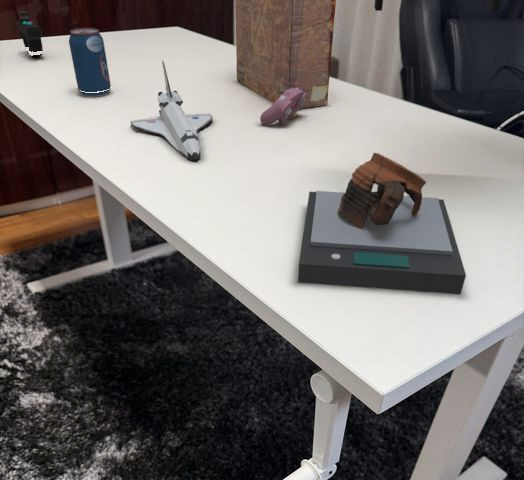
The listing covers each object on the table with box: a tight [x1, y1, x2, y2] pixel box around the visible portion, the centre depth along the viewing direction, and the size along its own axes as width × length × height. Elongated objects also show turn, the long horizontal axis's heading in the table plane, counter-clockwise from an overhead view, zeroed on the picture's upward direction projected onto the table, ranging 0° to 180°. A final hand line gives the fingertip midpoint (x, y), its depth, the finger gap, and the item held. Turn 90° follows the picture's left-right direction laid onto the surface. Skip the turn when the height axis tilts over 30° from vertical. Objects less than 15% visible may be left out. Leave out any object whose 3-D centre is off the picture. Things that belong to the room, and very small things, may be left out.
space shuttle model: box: [129, 59, 214, 161], centre depth 94 cm, size 16×25×10 cm, turn 18°
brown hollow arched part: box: [338, 152, 427, 228], centre depth 65 cm, size 12×10×8 cm
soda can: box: [68, 27, 112, 98], centre depth 114 cm, size 7×7×12 cm
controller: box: [16, 10, 44, 57], centre depth 140 cm, size 4×12×10 cm, turn 31°
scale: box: [297, 190, 467, 295], centre depth 67 cm, size 18×19×3 cm
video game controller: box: [259, 88, 307, 126], centre depth 103 cm, size 10×5×7 cm, turn 150°
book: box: [234, 0, 337, 110], centre depth 109 cm, size 25×9×30 cm, turn 27°
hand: (434, 9), depth 65 cm, fingers open, 13 cm apart
